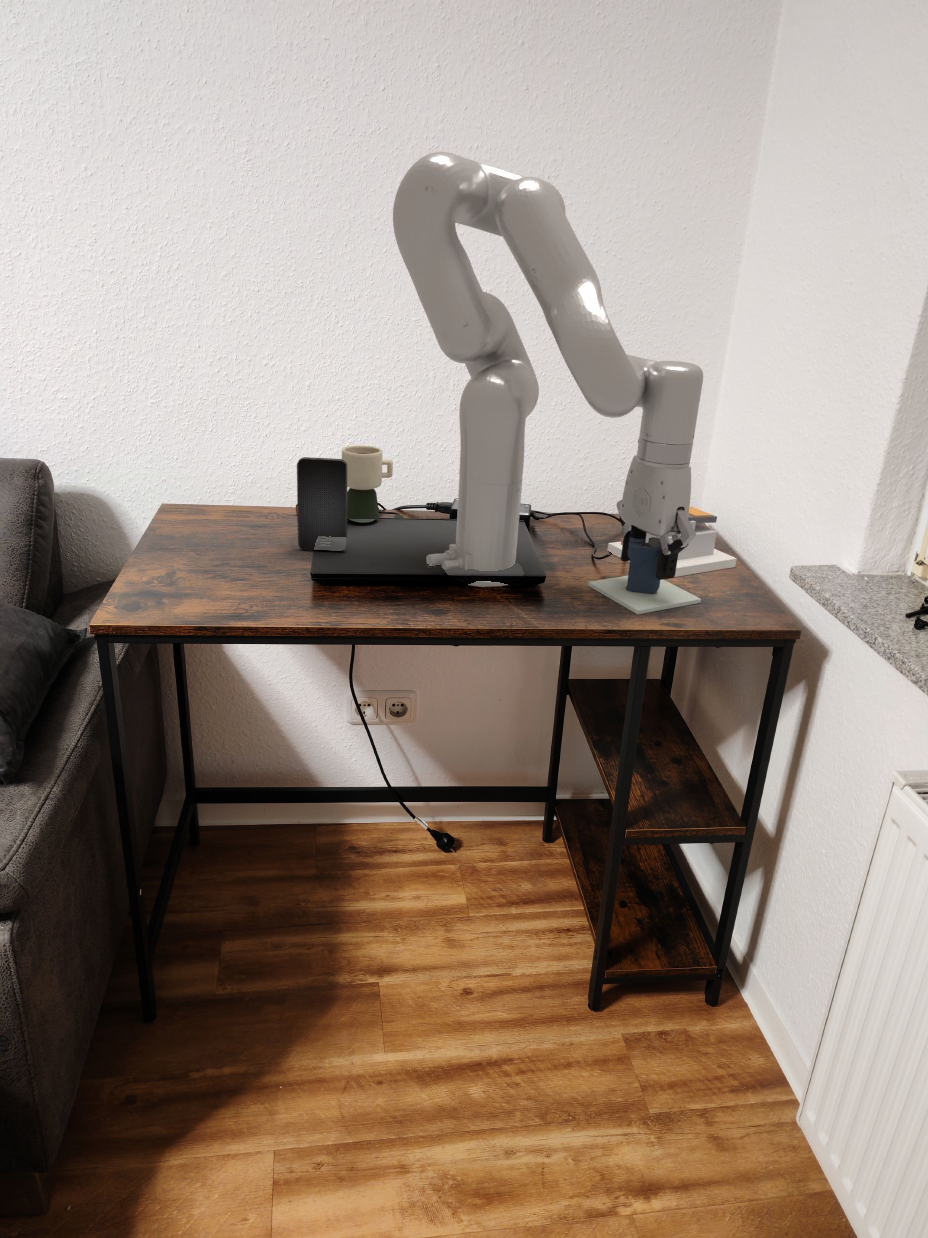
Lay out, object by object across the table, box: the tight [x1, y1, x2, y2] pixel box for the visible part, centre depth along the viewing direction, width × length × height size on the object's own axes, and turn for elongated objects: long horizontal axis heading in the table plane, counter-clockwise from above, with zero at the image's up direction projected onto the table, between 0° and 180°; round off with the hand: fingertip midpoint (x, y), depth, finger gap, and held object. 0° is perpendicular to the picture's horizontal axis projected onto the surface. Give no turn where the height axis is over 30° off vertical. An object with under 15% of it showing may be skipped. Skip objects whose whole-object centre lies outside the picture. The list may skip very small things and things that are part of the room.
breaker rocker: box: [688, 506, 718, 524], centre depth 149 cm, size 12×6×1 cm, turn 119°
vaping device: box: [626, 525, 663, 594], centre depth 134 cm, size 3×5×12 cm, turn 78°
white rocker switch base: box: [607, 521, 738, 578], centre depth 151 cm, size 16×14×8 cm
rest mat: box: [587, 575, 702, 615], centre depth 136 cm, size 12×12×1 cm
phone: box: [296, 456, 348, 551], centre depth 143 cm, size 8×1×15 cm, turn 92°
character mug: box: [341, 444, 394, 520], centre depth 159 cm, size 11×7×13 cm, turn 105°
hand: (647, 568), depth 135 cm, fingers open, 7 cm apart
